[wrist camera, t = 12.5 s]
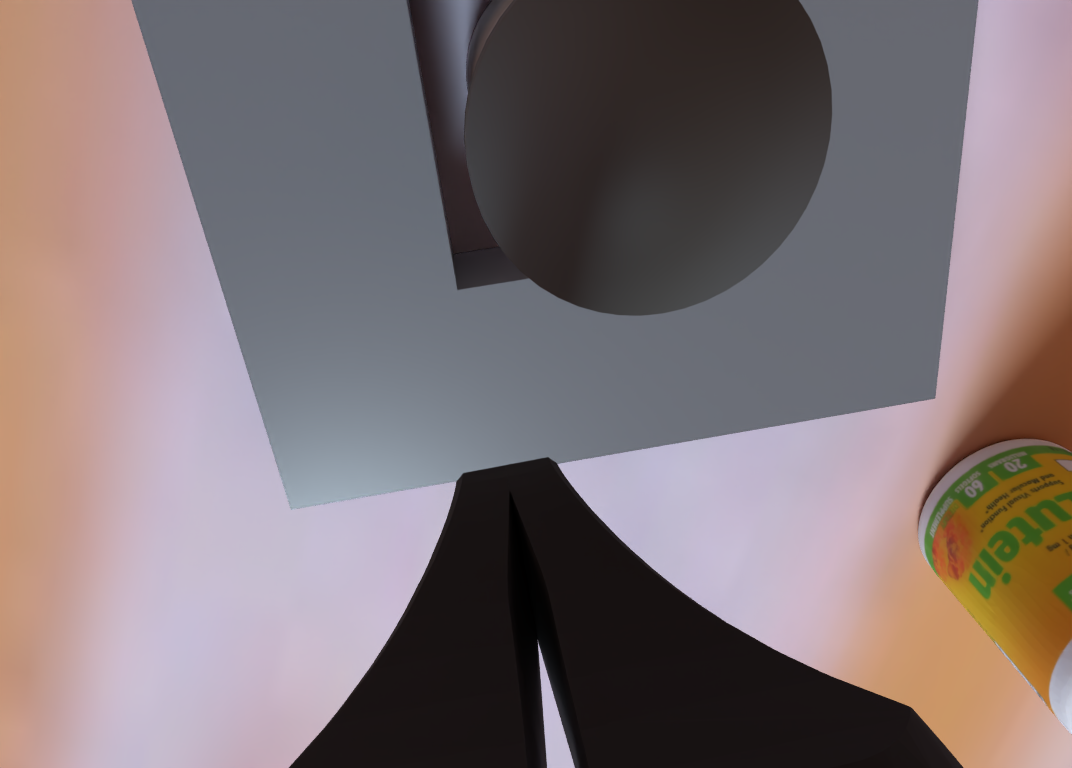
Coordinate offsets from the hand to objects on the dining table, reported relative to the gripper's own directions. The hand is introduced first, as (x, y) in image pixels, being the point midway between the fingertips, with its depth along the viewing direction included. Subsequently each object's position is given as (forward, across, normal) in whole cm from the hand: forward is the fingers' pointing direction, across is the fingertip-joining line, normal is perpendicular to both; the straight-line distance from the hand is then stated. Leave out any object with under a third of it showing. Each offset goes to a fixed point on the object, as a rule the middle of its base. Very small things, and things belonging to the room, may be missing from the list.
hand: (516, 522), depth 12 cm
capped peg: (+10, -3, -5) cm, 11 cm away
